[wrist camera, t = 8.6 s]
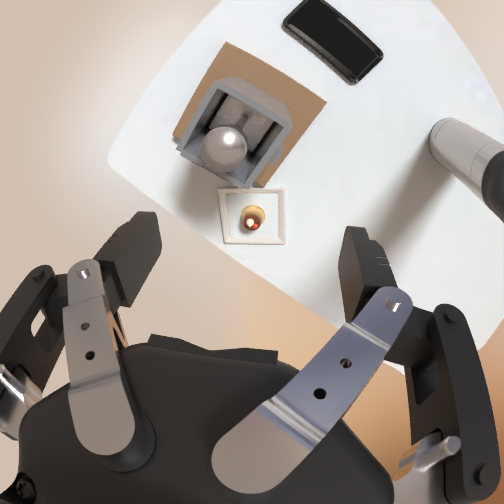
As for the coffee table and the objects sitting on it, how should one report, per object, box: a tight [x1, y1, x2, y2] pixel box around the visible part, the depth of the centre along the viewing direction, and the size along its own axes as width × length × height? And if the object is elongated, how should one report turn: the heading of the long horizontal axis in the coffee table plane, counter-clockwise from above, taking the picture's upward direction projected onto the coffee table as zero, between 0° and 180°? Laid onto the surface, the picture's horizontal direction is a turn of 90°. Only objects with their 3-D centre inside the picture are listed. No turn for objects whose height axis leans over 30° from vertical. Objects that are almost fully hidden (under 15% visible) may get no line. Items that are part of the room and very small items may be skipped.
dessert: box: [218, 188, 286, 244], centre depth 53 cm, size 12×12×5 cm
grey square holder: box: [172, 42, 327, 190], centre depth 37 cm, size 18×18×16 cm
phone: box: [283, 0, 383, 82], centre depth 33 cm, size 8×1×15 cm
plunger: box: [200, 94, 274, 172], centre depth 33 cm, size 8×8×17 cm
